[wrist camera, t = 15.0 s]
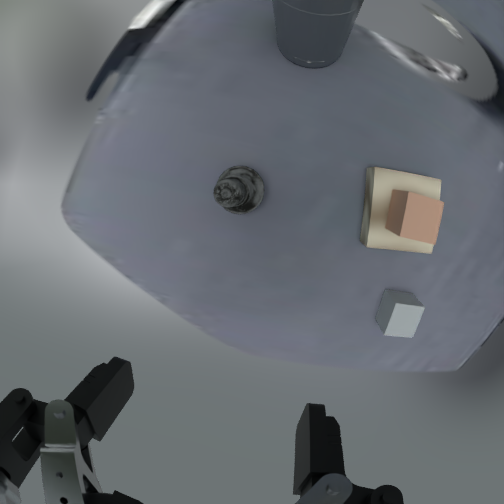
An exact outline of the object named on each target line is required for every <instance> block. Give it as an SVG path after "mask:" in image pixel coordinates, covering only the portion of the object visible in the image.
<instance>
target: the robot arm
mask: <svg viewBox="0 0 504 504" xmlns="http://www.w3.org/2000/svg"><path fill="white" fill-rule="evenodd" d="M363 1H364V0H272V2H273V10H274V17H275V25H276V34H277V42H278V47H279V49H280V51H281V52H282V54H283V55H284V56H285V57H286V58H287V59H288V60H290V61H291V62H293V63H295V64H297V65H300V66H303V67H308V68H321V67H325V66H328V65H330V64H332V63H334V62H335V61H336V60H337V59H338V58H339V57H340V55H341V53H342V51H343V48H344V46H345V44H346V42H347V39H348V37H349V34H350V32H351V30H352V27H353V25H354V22H355V20H356V18H357V15H358V13H359V11H360V8H361V6H362V3H363ZM133 390H134V380H133V374H132V367H131V363H130V362H129V361H126V360H124V359H121V358H118V357H113V358H112V359H111V360H110V361H109V363H108V364H105V363H102V364H100V365H98V366H96V367H94V368H93V369H92V371H91V372H90V373H89V374H88V375H87V376H86V377H85V378H84V380H83V381H81V382H80V384H79V385H78V386H77V387H76V388H75V389H74V390H73V391H72V392H71V393H70V394H69V395H68V397H67V398H66V399H65V400H53V401H51V402H50V403H45V402H42V401H38V400H35V399H33V397H32V395H31V393H30V392H29V391H28V390H26V389H23V388H18V389H14V390H13V391H11V392H10V393H9V394H8V396H7V397H6V398H5V399H4V400H3V401H2V402H1V403H0V504H20V503H21V498H20V492H19V490H18V489H19V487H20V485H21V484H22V482H23V481H24V479H25V477H26V476H27V474H28V473H29V471H30V470H31V468H32V467H33V465H34V464H35V462H36V461H37V459H38V458H39V456H40V458H41V471H42V481H43V488H44V495H45V501H46V504H143V503H141V502H140V501H139V500H136V499H133V498H131V497H129V496H127V495H124V494H122V493H120V492H118V491H116V490H115V491H114V493H113V494H108V493H103V491H102V488H101V486H100V483H99V481H98V479H97V476H96V472H95V468H94V463H93V459H92V453H91V448H90V443H89V442H90V440H91V439H92V438H94V439H96V440H98V441H101V440H102V438H103V437H104V435H105V434H106V432H107V431H108V429H109V428H110V426H111V425H112V423H113V422H114V420H115V419H116V417H117V416H118V414H119V413H120V412H121V410H122V409H123V407H124V406H125V404H126V403H127V401H128V400H129V398H130V397H131V395H132V393H133ZM22 427H23V429H22V430H21V431H20V433H19V434H18V435H17V437H16V438H15V439H14V440H13V438H14V437H15V436H16V434H17V433H18V432H19V430H20V429H21V428H22ZM340 435H341V434H340V426H339V424H338V423H337V421H336V419H335V418H334V417H331V416H326V412H325V406H324V405H322V404H311V403H307V404H306V406H305V409H304V411H303V413H302V416H301V418H300V420H299V423H298V425H297V430H296V441H295V468H294V487H293V494H295V495H300V499H299V500H298V501H297V502H296V503H295V504H404V503H403V496H402V493H401V491H400V490H399V489H398V488H397V487H395V486H392V485H383V486H380V487H378V488H377V489H369V488H365V487H360V486H357V485H354V484H353V483H351V481H350V480H349V479H348V478H347V477H346V475H345V470H344V461H343V451H342V445H341V443H342V442H341V437H340ZM12 440H13V442H12Z"/></svg>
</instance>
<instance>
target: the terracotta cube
mask: <svg viewBox="0 0 504 504" xmlns="http://www.w3.org/2000/svg"><path fill="white" fill-rule="evenodd" d="M443 206H444V202H442V201H439V200H436V199H432V198H429V197H426V196H423V195H419V194H416V193H412V192H409V191H403V190H396V189H393V190H392V196H391V201H390V206H389V212H388V217H387V221H386V226H385V228H386V229H387V230H389V231H391V232H393V233H394V234H396V235H398V236H399V237H404V238H408V239H412V240H417V241H421V242H425V243H429V244H433V245H435V243H436V239H437V235H438V230H439V226H440V221H441V216H442V211H443Z"/></svg>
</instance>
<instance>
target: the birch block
mask: <svg viewBox="0 0 504 504" xmlns="http://www.w3.org/2000/svg"><path fill="white" fill-rule="evenodd" d="M393 189H396V190H403V191H409V192H412V193H416V194H419V195H423V196H426V197H429V198H432V199H436V200H439V201H440V191H441V180H440V179H435V178H431V177H426V176H422V175H417V174H412V173H407V172H401V171H396V170H390V169H384V168H378V167H370V168H367V173H366V187H365V199H364V209H363V219H362V227H361V235H360V241H361V242H362V243H363V244H364V245H365V246H366V247H369V248H380V249H390V250H400V251H411V252H421V253H430V254H432V250H433V244H429V243H425V242H421V241H417V240H412V239H408V238H404V237H399V236H398V235H396V234H394V233H393V232H391V231H389V230H387V229H386V228H385V226H386V221H387V217H388V212H389V206H390V201H391V196H392V190H393Z"/></svg>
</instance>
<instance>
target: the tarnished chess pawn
mask: <svg viewBox="0 0 504 504" xmlns="http://www.w3.org/2000/svg"><path fill="white" fill-rule="evenodd" d="M263 195H264V184H263V181H262V179H261V178H260V176H259V175H258V174H257V173H256V172H255V171H254V170H253V169H250V168H248V167H244V166H235V167H232V168H229V169H228V170H226V171H225V172H223V174H222V175H221V176H220V177H219V180H218V182H217V184H216V186H215V188H214V198H215V200H216V201H217V203H218V204H220V205H221V206H222V207H224V208H225V209H226V210H227V211H229V212H231V213H235V214H246V213H249V212H251V211H253V210H254V209H256V208H257V207H258V205H259V204H260V203H261V201H262V199H263Z"/></svg>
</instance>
